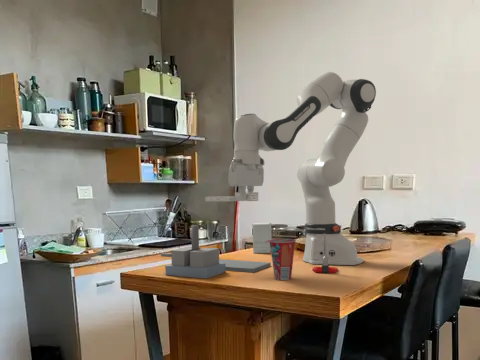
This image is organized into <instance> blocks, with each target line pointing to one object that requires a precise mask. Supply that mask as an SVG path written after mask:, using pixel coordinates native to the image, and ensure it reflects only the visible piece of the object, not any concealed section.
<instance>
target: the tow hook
mask: <svg viewBox="0 0 480 360" xmlns="http://www.w3.org/2000/svg"><path fill="white" fill-rule="evenodd" d="M329 265H330V264H328V257H327V240H326V234H324V240H323V264H321V266H314V267H312V271H313V272H315V273H316V274H336V272H338V271H339V268H338V267H334V266H329Z"/></svg>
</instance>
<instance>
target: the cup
mask: <svg viewBox="0 0 480 360" xmlns="http://www.w3.org/2000/svg"><path fill="white" fill-rule="evenodd" d="M265 242H270V248H271V252H270V254H271V255H270V256H271V260H272V266H273V267H272V268H273V274H274V275H273V276H274V280H277V281H288V280H292V273H293V263H294V255H295V254H294V253H295V247H296V242H297V240H296V238H295V239H294V238H272V239H270V240H267V241H265Z"/></svg>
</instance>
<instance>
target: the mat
mask: <svg viewBox="0 0 480 360" xmlns="http://www.w3.org/2000/svg"><path fill="white" fill-rule="evenodd" d="M219 263H225V271H228V270H229V271H231V272H241V271H242V273H243V272H244V273H255V272H258V271H261V270H264V269H266V268H268V267H271V264H272V263H271V262H269V261H268V262H267V261H253V260H239V259H238V260H237V259H223V258H222V259H221V258H219Z"/></svg>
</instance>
